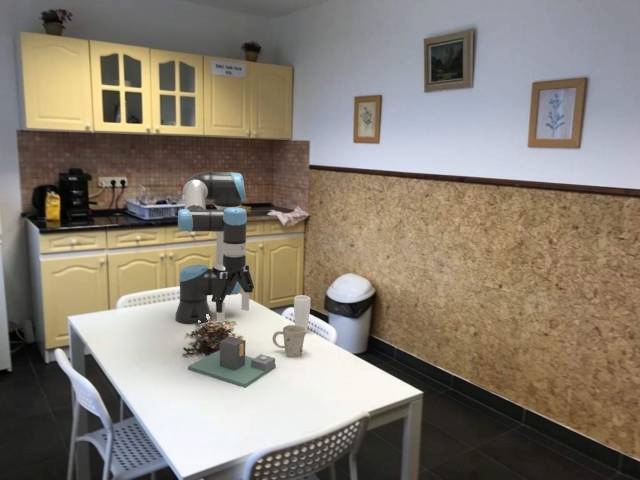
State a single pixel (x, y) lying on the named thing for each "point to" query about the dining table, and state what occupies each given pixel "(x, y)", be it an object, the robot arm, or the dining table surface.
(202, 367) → the board
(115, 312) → the dining table surface
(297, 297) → the drinking glass
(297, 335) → the mug
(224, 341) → the dark gray box
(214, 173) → the robot arm
